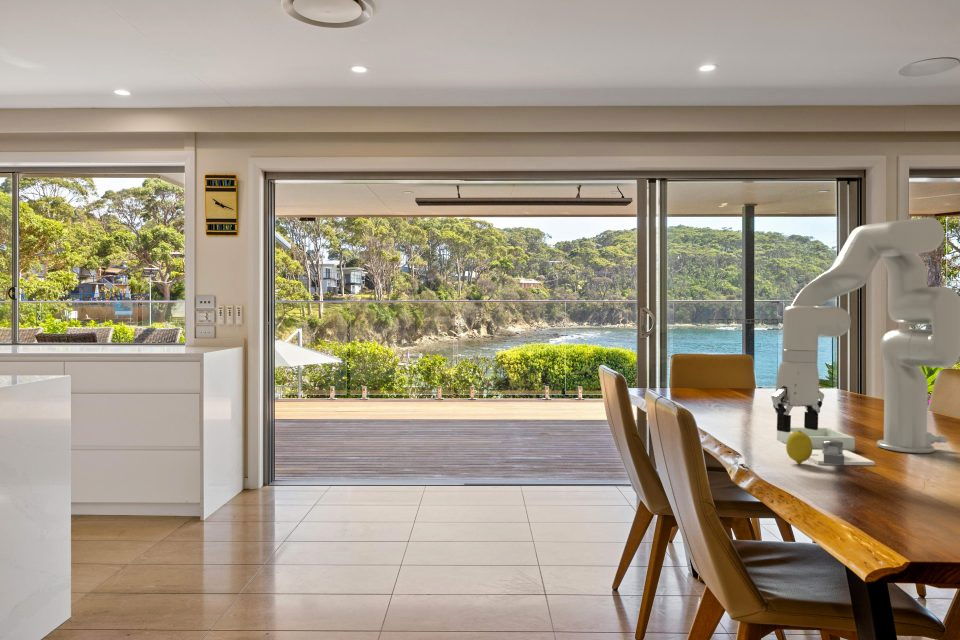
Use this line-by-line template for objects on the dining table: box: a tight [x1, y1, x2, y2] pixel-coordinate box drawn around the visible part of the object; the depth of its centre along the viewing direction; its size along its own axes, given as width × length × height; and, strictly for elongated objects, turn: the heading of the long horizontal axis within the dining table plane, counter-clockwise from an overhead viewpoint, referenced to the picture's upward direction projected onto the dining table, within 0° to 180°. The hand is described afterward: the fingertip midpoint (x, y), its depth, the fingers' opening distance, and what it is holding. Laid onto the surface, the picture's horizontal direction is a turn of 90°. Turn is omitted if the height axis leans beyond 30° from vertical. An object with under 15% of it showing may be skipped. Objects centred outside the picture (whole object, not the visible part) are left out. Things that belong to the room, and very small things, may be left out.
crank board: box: [807, 449, 876, 466], centre depth 156 cm, size 13×13×1 cm
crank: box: [822, 440, 845, 466], centre depth 150 cm, size 17×4×3 cm, turn 152°
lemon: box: [785, 430, 812, 465], centre depth 150 cm, size 6×6×8 cm
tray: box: [776, 426, 856, 452], centre depth 172 cm, size 14×14×4 cm
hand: (797, 430), depth 150 cm, fingers open, 9 cm apart
